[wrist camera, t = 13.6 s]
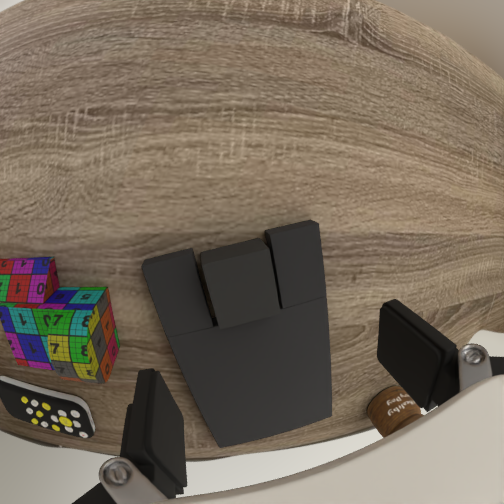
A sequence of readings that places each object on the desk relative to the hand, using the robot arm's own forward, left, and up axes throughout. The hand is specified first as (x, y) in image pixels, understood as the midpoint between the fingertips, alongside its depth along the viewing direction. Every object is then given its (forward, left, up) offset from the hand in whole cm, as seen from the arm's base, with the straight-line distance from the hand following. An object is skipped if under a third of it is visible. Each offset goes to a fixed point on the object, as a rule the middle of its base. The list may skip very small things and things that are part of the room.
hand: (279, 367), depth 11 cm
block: (-8, -14, -12) cm, 20 cm away
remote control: (-2, -27, -12) cm, 30 cm away
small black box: (+1, 0, -12) cm, 12 cm away
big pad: (+8, -4, -12) cm, 15 cm away
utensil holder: (+28, +2, -12) cm, 30 cm away
